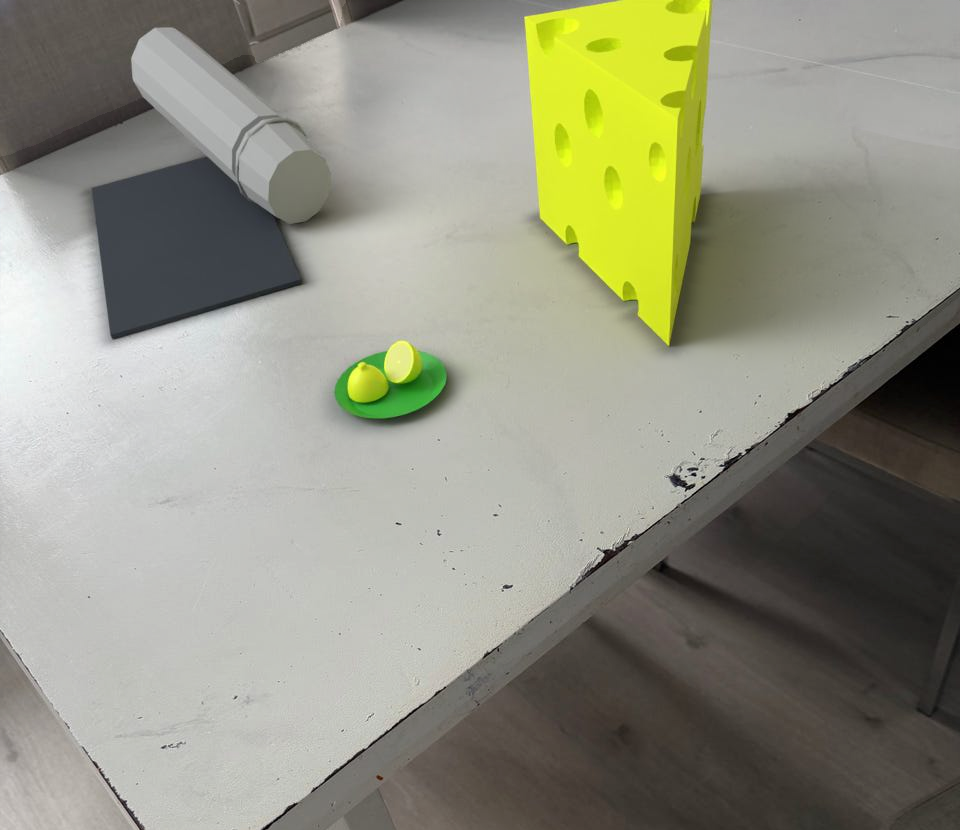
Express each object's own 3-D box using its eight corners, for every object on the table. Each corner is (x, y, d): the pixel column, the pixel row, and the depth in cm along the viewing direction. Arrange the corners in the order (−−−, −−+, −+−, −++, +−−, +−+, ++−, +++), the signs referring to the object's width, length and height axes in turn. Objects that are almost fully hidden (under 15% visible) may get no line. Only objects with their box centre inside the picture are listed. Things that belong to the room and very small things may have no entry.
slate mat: (93, 191, 92) (91, 187, 92) (245, 149, 94) (243, 145, 94) (112, 339, 73) (110, 334, 73) (302, 283, 75) (300, 279, 75)
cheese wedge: (805, 216, 72) (838, -4, 60) (668, 346, 63) (677, 119, 52) (601, 171, 81) (597, -27, 69) (458, 279, 72) (426, 74, 61)
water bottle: (108, 69, 86) (245, 195, 76) (160, 1, 85) (306, 121, 75) (175, 134, 95) (306, 256, 85) (223, 73, 93) (361, 190, 84)
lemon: (401, 344, 68) (393, 309, 65) (471, 384, 63) (465, 349, 61) (314, 395, 65) (303, 361, 63) (381, 441, 60) (372, 406, 58)
